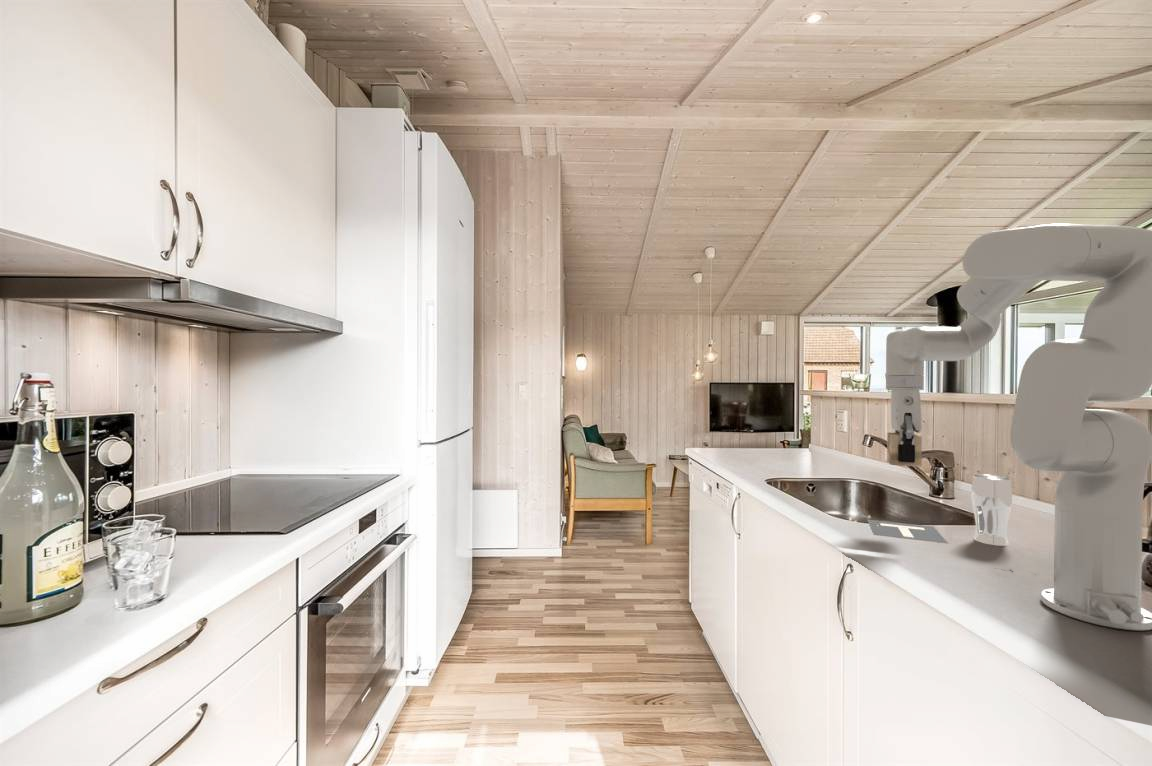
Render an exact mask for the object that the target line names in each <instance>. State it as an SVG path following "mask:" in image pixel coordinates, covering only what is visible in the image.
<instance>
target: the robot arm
mask: <svg viewBox="0 0 1152 766" xmlns="http://www.w3.org/2000/svg"><path fill="white" fill-rule="evenodd" d="M962 256H963V258H962V268H963V271H964V273H965V274H966V275H967V276H968V277H969V278H968V280H966V281H965V282H964V283H963V284H962V285H960V287H959V288H958V290H957V292H956V298H957V302H958V303H959V305H960V306H961V307H962V309H963V310H964V311H966V313H967V314H969V317H967V318H966V319H965V320H964V321H962V322H961V323H960V324H959V325H957V326H956V327H955V326H916V327H912V328H909V329H906V330H898V331H897V330H896V331H892V332H889V333H888V334H887V336H886V340H885V341H886V343H885V344H886V347H885V349H886V351H885V356H886V357H885V390H889V391H890V390H891V392H890V393H891V394H890V424H891V425H890V427H891V428H892V430H894V433H899V438H900V444H898V461H899V462H910V463H914V462H915V441H914V434H915V433H916V434H919V433H921V432H922V430H923V429H922V424H923V423H922V407H921V406H922V403H921V393H920V391H924V387H925V382H924V381H925V372H924V371H925V362H935V361H936V362H958V361H963V360H966V359H968V358H969V357H971V356H973V355H974V354H975V353H977V352H979V351H980V350H981V349H982V348H984V347H985V346H987V345H988V344H989V343H991V341H992V340H993V339H994V337H995V336H996V335H997V332H998V329H999V327H1000V324H1001V319H1002V318H1001V314H1002V313H1003V312H1005V310H1007V309H1008V308H1009V307H1011V306H1012V305H1013V304H1014V303H1015V302H1017V301H1018V300H1019V299H1020V298H1022V297H1023V296H1024V295H1025V294H1027V293H1028V292H1029V291H1030V290H1032V289H1033V288H1034V287H1035V286H1037V284H1039V283H1040V282H1041V281H1053V282H1054V281H1063V282H1096V283H1097V282H1099V283H1102V284H1104V286H1103V288H1101V290H1099V291H1098V292H1097V294H1096V295H1095V296H1094V297H1093V298H1092V300H1091V302H1090V303H1089V305H1088V306H1087V309H1086V311H1085V312H1084V313H1085V315H1084V320H1083V326H1082V329H1081V333H1080V335H1079V337H1078V338H1063V339H1061V338H1060V339H1056V340H1051V341H1049V342H1046V343H1044V344H1041V345H1039V346H1038V347H1036V349H1034V350H1033V352H1031V354H1030V355H1029V356H1028V358H1027V359H1026V361H1025V362H1024V363H1023V366H1022V370H1021V372H1020V377H1019V383H1018V387H1017V392H1016V398H1015V402H1014V403H1015V404H1014V408H1013V409H1014V410H1013V413H1012V414H1013V415H1012V420H1011V426H1010V434H1009V435H1010V444H1011V447H1012V451H1013V453H1014V454H1015V456H1016V458H1018V460H1019V461H1020V462H1021V463H1022V464H1024V465H1025V466H1027V467H1029V468H1032V469H1034V470H1038V471H1044V472H1062V474H1061V476H1060V479H1059V481H1058V483H1057V485H1056V490H1055V496H1054V526H1053V527H1054V528H1053V529H1054V533H1053V534H1054V536H1053V537H1054V538H1053V539H1054V540H1053V544H1054V546H1053V549H1054V550H1053V587H1052V588H1046V589H1043V590H1042V591H1041V592H1040V600H1041V602H1042V603H1043V604H1044V605H1045V606H1047V607H1049V608H1050V609H1051V610H1053V611H1055V612H1058V613H1059V614H1060V613H1061V614H1062V615H1064V616H1068V617H1071V618H1074V619H1076V620H1080V621H1083V622H1086V623H1090V624H1093V625H1097V626H1102V627H1107V628H1114V629H1117V630H1118V629H1119V630H1124V631H1125V630H1127V631H1150V630H1152V612H1151V611H1149V610H1147V609H1145V608H1143V607H1142V565H1143V564H1142V563H1143V561H1142V560H1143V557H1142V556H1143V517H1144V515H1143V511H1144V510H1143V508H1144V491H1145V483H1146V478H1147V474H1148V471H1149V467H1150V465H1151V462H1152V434H1151V432H1150V430H1149V429H1148V427H1147V426H1146V425H1145V423H1143V421H1141V420H1139V419H1138V418H1137V417H1134V416H1133V415H1131V414H1128V413H1125V412H1123V411H1118V410H1113V409H1105V408H1104V409H1103V408H1101V409H1100V408H1099V409H1098V408H1087V405H1088V403H1119V402H1128V401H1129V402H1130V401H1133V400H1137V399H1139V398H1142V397H1143V396H1144V395H1146V393H1148V392H1149V390H1150V389H1151V388H1152V230H1151V229H1148V228H1142V227H1137V226H1130V225H1117V224H1115V225H1114V224H1085V223H1084V224H1080V223H1079V224H1078V223H1050V224H1049V223H1048V224H1040V225H1035V226H1027V227H1019V228H1012V229H1011V228H1010V229H1001V230H994V231H993V230H992V231H989V232H987V233H984V234H982V235H980V236H978V237H977V238H976V239H974V240H973V241H972V242H971V243H970V244H969V245H968V247H967V248H966V250H965V251H964V255H962Z"/></svg>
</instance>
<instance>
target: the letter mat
mask: <svg viewBox="0 0 1152 766" xmlns="http://www.w3.org/2000/svg"><path fill="white" fill-rule="evenodd" d="M867 522H868V524H869V527H870V529H871V532H872V535H874V536H880V537H881V536H882V537H888V538H889V537H890V538H897V539H905V540H915V541H925V542H933V543H942V544H949V542H948V541H947V539H945V538H944V536H942V535H941V532H939V530H937V529H936V528H935V526H933V525H932V526H931V525H922V524H911V523H906V522H905V523H904V522H903V523H902V522H896V521H895V522H893V521H884V520H875V519H874V520H873V519H867ZM877 525H878V526H877Z"/></svg>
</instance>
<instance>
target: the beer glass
mask: <svg viewBox="0 0 1152 766" xmlns="http://www.w3.org/2000/svg"><path fill="white" fill-rule="evenodd" d="M970 495H971V504H972V505H971V506H972V509H973V515H974V521H975V531H974V536H973V540H974V541H976V542H979V543H982V544H986V545H992V546H999V547H1001V546H1003V547H1004V546H1009V543H1010V542H1009V540H1008V531H1007V530H1008V524H1009V519H1010V515H1011V511H1012V507H1013V487H1012V478H1011V477H1007V476H1002V475H996V474H981V473H977V474H972V482H971V493H970Z"/></svg>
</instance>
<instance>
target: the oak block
mask: <svg viewBox="0 0 1152 766" xmlns="http://www.w3.org/2000/svg"><path fill="white" fill-rule="evenodd" d="M886 435H887V436H886V437H887V439H886V441H887V443H886V444H887V445H886V446H887V447H886V449H887V450H886V451H887V452H886V461H887V463H888V464H889V465H891V466H902V467H903V466H905V467H917V468H918V467H919V468H921V467H922V463H923V462H922V459H923V458H922V457H923V455H922V454H923V449H922V448H923V447H922V445H923V442H922V441H923V440H922V439H923V437H922V435H920V434H919V433H914V441H915V462H914V463H910V462H899V461H898V444H900V438H899V433H895V432H887V434H886Z"/></svg>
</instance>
